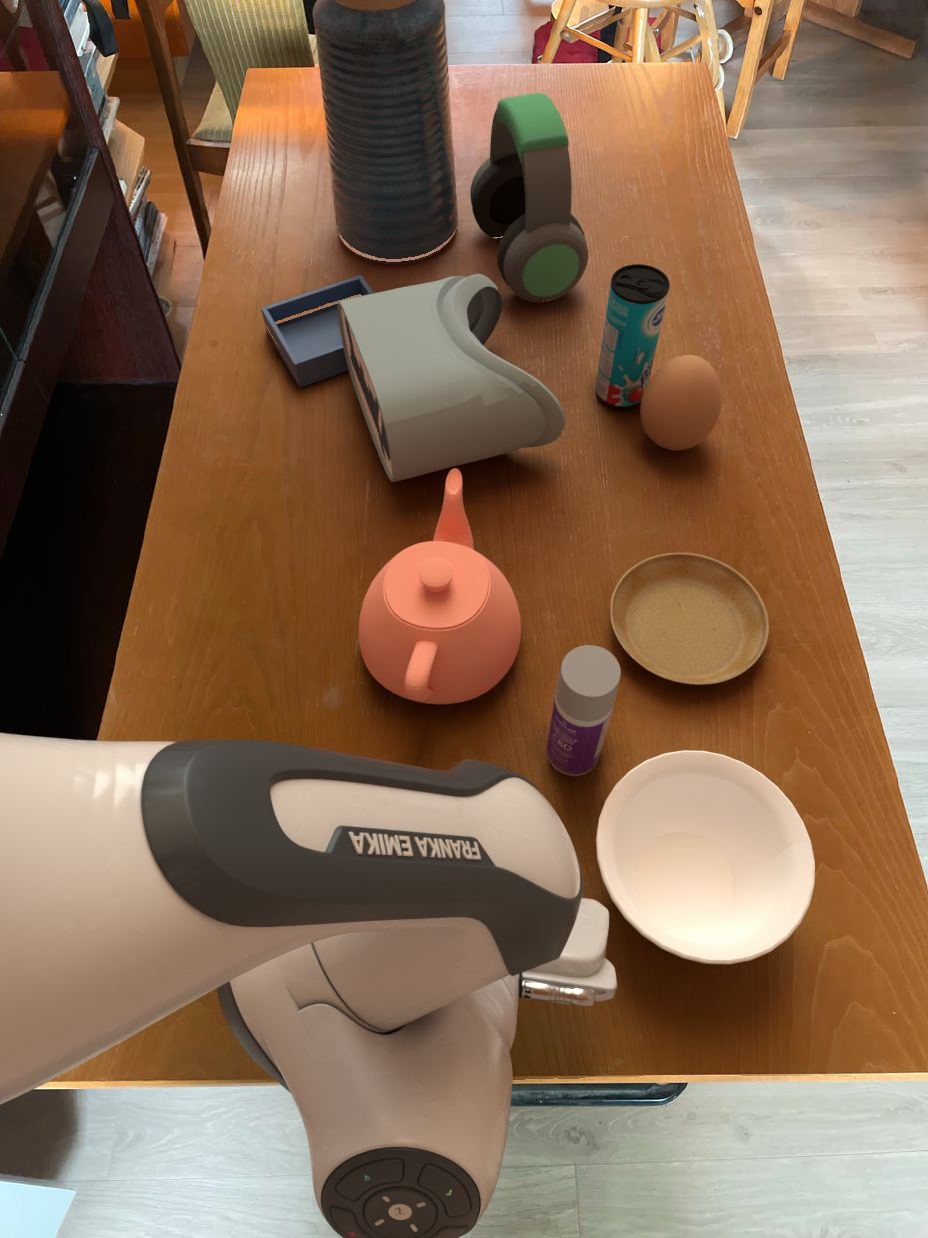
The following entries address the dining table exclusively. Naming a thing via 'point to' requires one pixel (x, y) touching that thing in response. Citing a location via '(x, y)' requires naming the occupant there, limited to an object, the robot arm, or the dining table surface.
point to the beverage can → (630, 334)
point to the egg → (681, 403)
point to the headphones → (530, 200)
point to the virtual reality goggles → (440, 377)
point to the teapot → (440, 615)
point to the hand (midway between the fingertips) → (469, 869)
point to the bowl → (705, 857)
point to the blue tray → (312, 330)
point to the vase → (388, 124)
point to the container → (582, 709)
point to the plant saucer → (689, 618)
